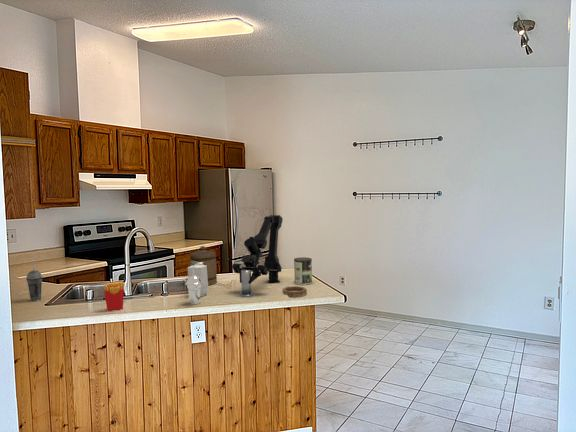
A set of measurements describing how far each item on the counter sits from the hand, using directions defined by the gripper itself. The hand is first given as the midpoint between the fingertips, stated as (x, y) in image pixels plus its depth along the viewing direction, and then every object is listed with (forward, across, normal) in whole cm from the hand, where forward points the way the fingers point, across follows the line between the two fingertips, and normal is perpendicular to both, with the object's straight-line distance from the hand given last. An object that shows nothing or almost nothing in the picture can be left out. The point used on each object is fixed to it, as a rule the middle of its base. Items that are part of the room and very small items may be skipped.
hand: (245, 282), depth 223 cm
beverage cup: (+33, -101, -22) cm, 109 cm away
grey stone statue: (+17, -19, -6) cm, 27 cm away
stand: (+4, 0, +6) cm, 8 cm away
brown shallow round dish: (-4, +22, +15) cm, 27 cm away
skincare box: (+8, -26, +3) cm, 27 cm away
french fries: (+32, -50, -21) cm, 63 cm away
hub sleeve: (+4, 0, +6) cm, 7 cm away
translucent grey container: (-9, -38, +20) cm, 43 cm away
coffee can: (-22, +18, +33) cm, 44 cm away
